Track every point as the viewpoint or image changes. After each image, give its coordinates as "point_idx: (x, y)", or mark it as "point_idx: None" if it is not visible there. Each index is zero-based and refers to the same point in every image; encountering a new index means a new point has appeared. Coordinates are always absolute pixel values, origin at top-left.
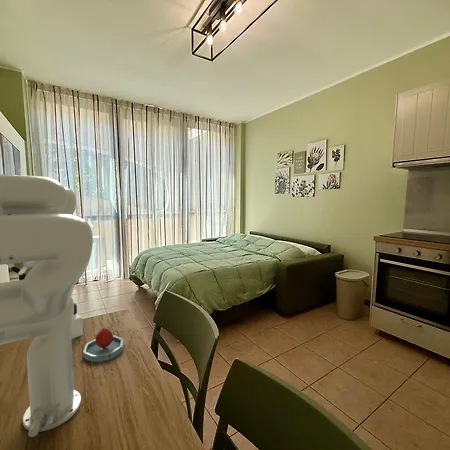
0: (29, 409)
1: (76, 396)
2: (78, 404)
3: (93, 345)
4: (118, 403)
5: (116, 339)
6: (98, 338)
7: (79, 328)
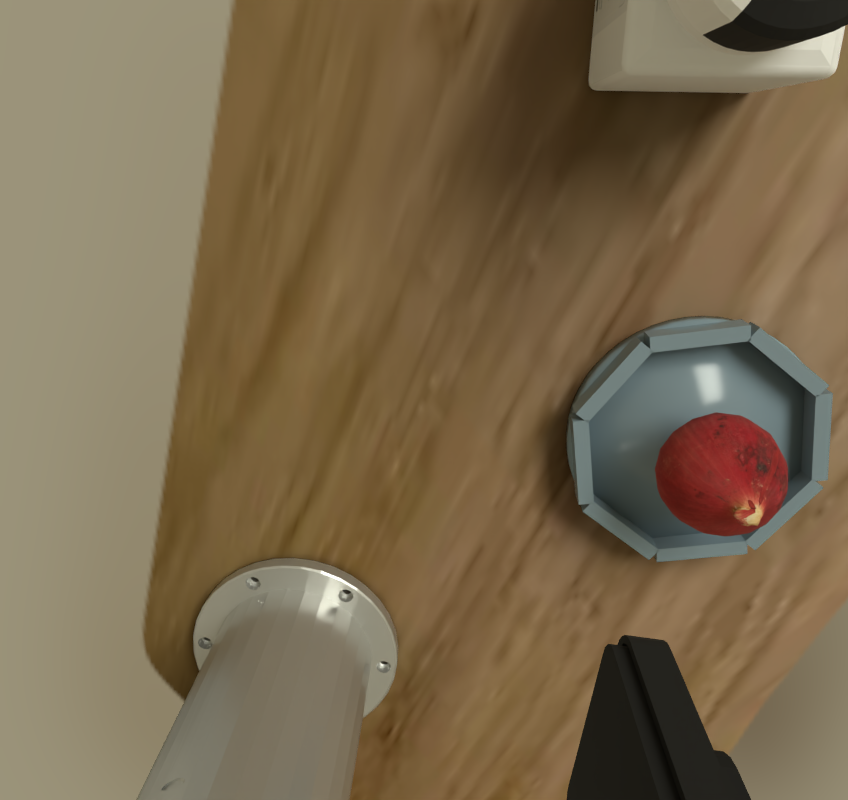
0: (224, 598)
1: (379, 675)
2: (364, 716)
3: (678, 354)
4: (475, 786)
5: (806, 430)
6: (674, 498)
7: (753, 87)
